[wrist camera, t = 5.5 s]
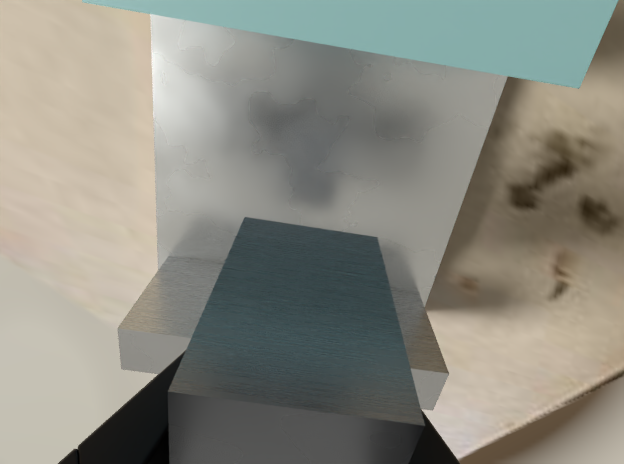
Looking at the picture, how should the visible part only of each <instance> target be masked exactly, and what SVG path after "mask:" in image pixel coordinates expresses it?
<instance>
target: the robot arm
mask: <svg viewBox="0 0 624 464" xmlns="http://www.w3.org/2000/svg"><path fill="white" fill-rule="evenodd" d="M185 351H186V350H185ZM185 351H184V352H183V353H182V354H181V355H180V356H178V357H177V358H176V359H175V360H174V361H173V362H172V363H171V364H169V365H168V366H167V367H166V368H165V369H164V370H163V371H162V372H160V373H159V374H158V375H157V376H156V377H155V378H154V379H153V380H151V381H150V382H149V383H148V384H147V385H146V386H145V387H144V388H142V389H141V390H140V391H139V392H138V393H137V394H136V395H135V396H134V397H132V398H131V399H130V400H129V401H128V402H127V403H126V404H124V405H123V406H122V407H121V408H120V409H119V410H118V411H117V412H115V413H114V414H113V415H112V416H111V417H110V418H109V419H108V420H106V421H105V422H104V423H103V424H102V425H101V426H100V427H99V428H98V429H96V430H95V431H94V432H93V433H92V434H91V435H90V436H88V438H86V439H85V440H84V441H83V442H82V443H81V444H80V445H79V446H78V449H74V450H73V451H71V452H70V453H69V454H68V455H67V456H66V457H65V458H64V459H62V460H61V461H60V462H59V463H58V464H169V423H168V390H169V388H170V385H171V383H172V381H173V379H174V376H175V374H176V372H177V369H178V367H179V365H180V363H181V360H182V358H183V356H184V354H185ZM421 412H422V416H423V419H424V423H425V427H424V429H423V432H422V434H421V436H420V438H419V441H418V443H417V445H416V448H415V450H414V452H413V454H412V457H411V459H410V461H409V463H408V464H460V463H459V461H458V460H457V458H456V457H455V456H454V454H453V453H452V451H451V450H450V449H449V447H448V446H447V444H446V443H445V442H444V440H443V439H442V437H441V436H440V435H439V433H438V432H437V431H436V429H435V428H434V426H433V425H432V424H431V422H430V421H429V419H428V418H427V417H426V415H425V414H424V412H423V411H422V410H421Z"/></svg>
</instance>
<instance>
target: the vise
mask: <svg viewBox="0 0 624 464" xmlns="http://www.w3.org/2000/svg"><path fill="white" fill-rule="evenodd" d="M150 16H151V49H152V83H153V116H154V150H155V183H156V217H157V250H158V272H157V273H156V274H155V276H154V277H153V279H152V280H151V282H150V283H149V284H148V286H147V287H146V289H145V290H144V292H143V293H142V294H141V296H140V297H139V299H138V300H137V301H136V303H135V304H134V306H133V307H132V309H131V310H130V311H129V313H128V314H127V316H126V317H125V319H124V320H123V321H122V323H121V324H120V326H119V327H118V337H119V348H120V359H121V368H122V369H124V370H132V371H139V372H147V373H154V374H159V373H160V372H162V371H163V370H164V369H165V368H166V367H167V366H168V365H169V364H171V363H172V362H173V361H174V360H175V359H176V358H177V357H178V356H180V355H181V354H182V353H183V352H184V351H185V350H186V349H187V347H188V344H189V342H190V340H191V338H192V335H193V333H194V331H195V329H196V326H197V324H198V322H199V319H200V317H201V315H202V313H203V310H204V308H205V306H206V304H207V301H208V299H209V297H210V295H211V292H212V290H213V288H214V285H215V283H216V281H217V279H218V276H219V274H220V272H221V270H222V267H223V265H224V263H225V260H226V258H227V256H228V254H229V251H230V249H231V247H232V245H233V242H234V240H235V238H236V235H237V233H238V231H239V229H240V226H241V224H242V222H243V220H244V217H249V218H256V219H262V220H269V221H275V222H282V223H288V224H295V225H301V226H308V227H314V228H321V229H327V230H334V231H341V232H347V233H354V234H360V235H367V236H373V237H378V241H379V245H380V249H381V253H382V257H383V261H384V265H385V269H386V273H387V277H388V281H389V285H390V289H391V293H392V297H393V301H394V305H395V309H396V313H397V317H398V320H399V324H400V328H401V332H402V336H403V340H404V344H405V348H406V352H407V356H408V360H409V364H410V368H411V372H412V376H413V380H414V384H415V388H416V392H417V396H418V400H419V404H420V408H421V409H426V410H433V409H434V407H435V405H436V402H437V400H438V398H439V395H440V393H441V391H442V389H443V386H444V384H445V382H446V379H447V377H448V375H449V372H448V370H447V367H446V364H445V361H444V359H443V356H442V353H441V351H440V348H439V345H438V342H437V340H436V337H435V334H434V332H433V329H432V326H431V323H430V321H429V318H428V315H427V313H426V310H425V305H426V302H427V299H428V297H429V294H430V291H431V288H432V285H433V283H434V280H435V277H436V274H437V272H438V269H439V266H440V263H441V260H442V258H443V255H444V252H445V249H446V247H447V244H448V241H449V238H450V235H451V233H452V230H453V227H454V224H455V222H456V219H457V216H458V213H459V210H460V208H461V205H462V202H463V199H464V197H465V194H466V191H467V188H468V185H469V183H470V180H471V177H472V174H473V172H474V169H475V166H476V163H477V160H478V158H479V155H480V152H481V149H482V147H483V144H484V141H485V138H486V135H487V133H488V130H489V127H490V124H491V122H492V119H493V116H494V113H495V110H496V108H497V105H498V102H499V99H500V97H501V94H502V91H503V88H504V85H505V83H506V80H507V77H508V76H504V75H498V74H492V73H486V72H481V71H475V70H469V69H463V68H458V67H452V66H446V65H440V64H435V63H429V62H423V61H417V60H412V59H406V58H400V57H394V56H389V55H383V54H377V53H371V52H366V51H360V50H354V49H348V48H343V47H337V46H331V45H325V44H320V43H314V42H308V41H302V40H297V39H291V38H285V37H279V36H274V35H268V34H262V33H256V32H251V31H245V30H239V29H233V28H228V27H222V26H216V25H210V24H205V23H199V22H193V21H187V20H182V19H176V18H170V17H164V16H159V15H153V14H150Z"/></svg>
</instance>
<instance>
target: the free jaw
mask: <svg viewBox="0 0 624 464" xmlns="http://www.w3.org/2000/svg"><path fill="white" fill-rule="evenodd" d="M82 2H84V3H90V4H95V5H101V6H107V7H113V8H118V9H124V10H130V11H136V12H141V13H147V14H153V15H159V16H164V17H170V18H176V19H182V20H187V21H193V22H199V23H205V24H210V25H216V26H222V27H228V28H233V29H239V30H245V31H251V32H256V33H262V34H268V35H274V36H279V37H285V38H291V39H297V40H302V41H308V42H314V43H320V44H325V45H331V46H337V47H343V48H348V49H354V50H360V51H366V52H371V53H377V54H383V55H389V56H394V57H400V58H406V59H412V60H417V61H423V62H429V63H435V64H440V65H446V66H452V67H458V68H463V69H469V70H475V71H481V72H486V73H492V74H498V75H504V76H509V77H515V78H521V79H527V80H532V81H538V82H544V83H550V84H555V85H561V86H567V87H573V88H578V89H579V88H580V86H581V83H582V81H583V79H584V77H585V74H586V72H587V70H588V68H589V65H590V63H591V61H592V59H593V56H594V54H595V52H596V50H597V47H598V45H599V43H600V41H601V38H602V36H603V34H604V31H605V29H606V27H607V25H608V22H609V20H610V18H611V16H612V13H613V11H614V9H615V7H616V4H617V2H618V0H82Z"/></svg>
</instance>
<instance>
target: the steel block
mask: <svg viewBox="0 0 624 464" xmlns="http://www.w3.org/2000/svg"><path fill="white" fill-rule="evenodd" d="M168 423H169V464H408V463H409V461H410V459H411V457H412V454H413V452H414V450H415V448H416V445H417V443H418V441H419V438H420V436H421V434H422V432H423V429H424V427H425V423H424V419H423V416H422V412H421V408H420V404H419V400H418V396H417V392H416V388H415V384H414V380H413V376H412V372H411V368H410V364H409V360H408V356H407V352H406V348H405V344H404V340H403V336H402V332H401V328H400V324H399V320H398V317H397V313H396V309H395V305H394V301H393V297H392V293H391V289H390V285H389V281H388V277H387V273H386V269H385V265H384V261H383V257H382V253H381V249H380V245H379V241H378V237H373V236H367V235H360V234H354V233H347V232H341V231H334V230H327V229H321V228H314V227H308V226H301V225H295V224H288V223H282V222H275V221H269V220H262V219H256V218H249V217H244V220H243V222H242V224H241V226H240V229H239V231H238V233H237V235H236V238H235V240H234V242H233V245H232V247H231V249H230V251H229V254H228V256H227V258H226V260H225V263H224V265H223V267H222V270H221V272H220V274H219V276H218V279H217V281H216V283H215V285H214V288H213V290H212V292H211V295H210V297H209V299H208V301H207V304H206V306H205V308H204V310H203V313H202V315H201V317H200V319H199V322H198V324H197V326H196V329H195V331H194V333H193V335H192V338H191V340H190V342H189V344H188V347H187V349H186V351H185V354H184V356H183V358H182V360H181V363H180V365H179V367H178V369H177V372H176V374H175V376H174V379H173V381H172V383H171V385H170V388H169V390H168Z"/></svg>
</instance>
